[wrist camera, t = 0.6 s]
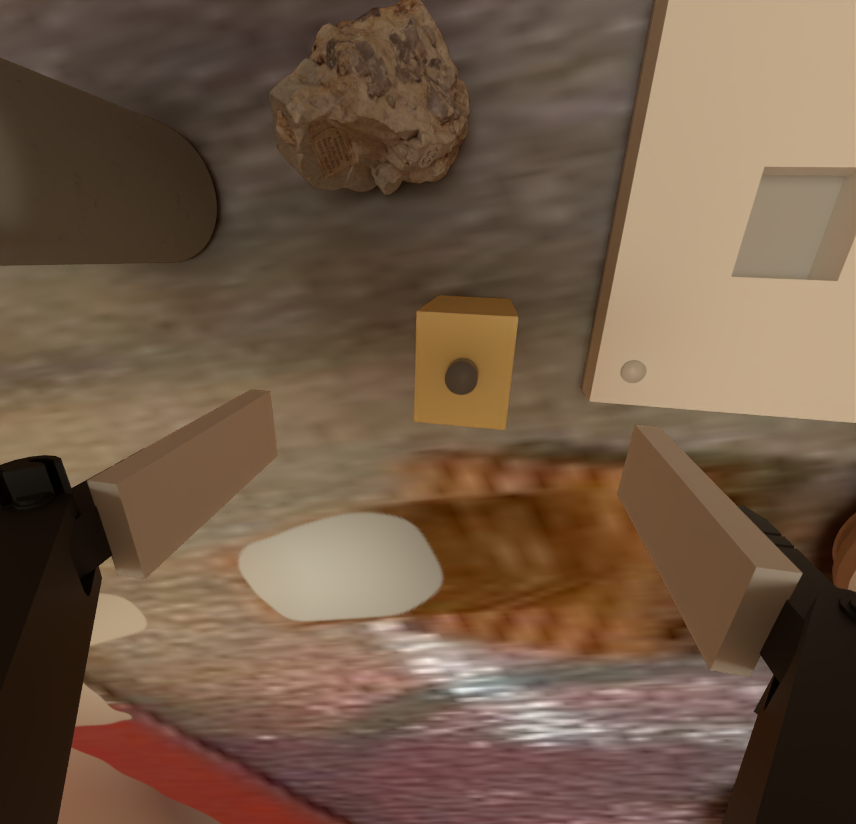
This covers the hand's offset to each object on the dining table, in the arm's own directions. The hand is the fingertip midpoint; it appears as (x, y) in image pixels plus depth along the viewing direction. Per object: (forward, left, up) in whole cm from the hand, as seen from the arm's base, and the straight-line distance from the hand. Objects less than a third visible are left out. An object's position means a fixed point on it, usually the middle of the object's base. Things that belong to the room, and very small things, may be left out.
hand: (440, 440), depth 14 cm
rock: (-14, -6, -19) cm, 24 cm away
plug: (-1, 0, -19) cm, 19 cm away
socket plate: (-9, +19, -19) cm, 28 cm away
